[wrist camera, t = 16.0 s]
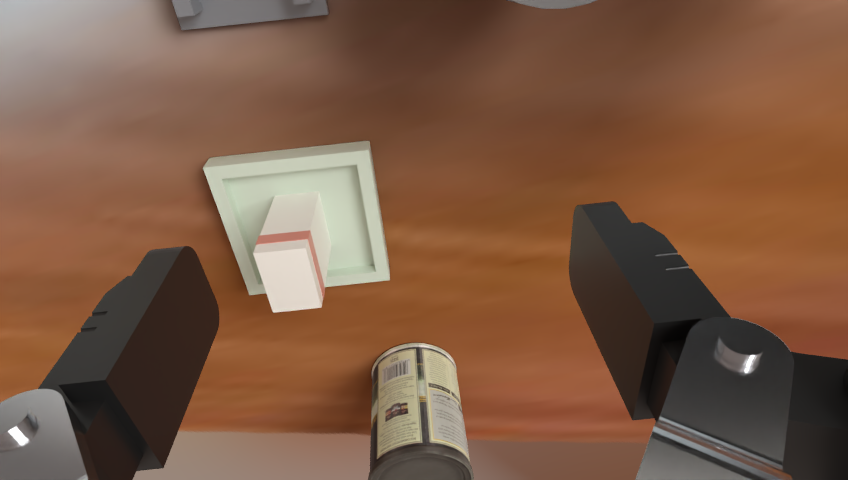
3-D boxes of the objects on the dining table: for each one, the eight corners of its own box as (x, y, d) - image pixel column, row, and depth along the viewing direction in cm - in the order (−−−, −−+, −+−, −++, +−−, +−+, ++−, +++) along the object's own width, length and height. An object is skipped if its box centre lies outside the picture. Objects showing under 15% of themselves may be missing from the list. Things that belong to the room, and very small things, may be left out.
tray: (369, 140, 44) (368, 150, 43) (389, 268, 52) (389, 280, 51) (209, 157, 44) (202, 167, 43) (253, 282, 52) (249, 295, 51)
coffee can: (422, 410, 65) (430, 522, 54) (354, 380, 61) (347, 494, 50) (475, 364, 61) (495, 474, 49) (405, 328, 57) (410, 439, 46)
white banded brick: (319, 190, 46) (306, 247, 38) (332, 245, 49) (322, 308, 42) (274, 195, 46) (252, 253, 38) (289, 250, 49) (272, 313, 42)
